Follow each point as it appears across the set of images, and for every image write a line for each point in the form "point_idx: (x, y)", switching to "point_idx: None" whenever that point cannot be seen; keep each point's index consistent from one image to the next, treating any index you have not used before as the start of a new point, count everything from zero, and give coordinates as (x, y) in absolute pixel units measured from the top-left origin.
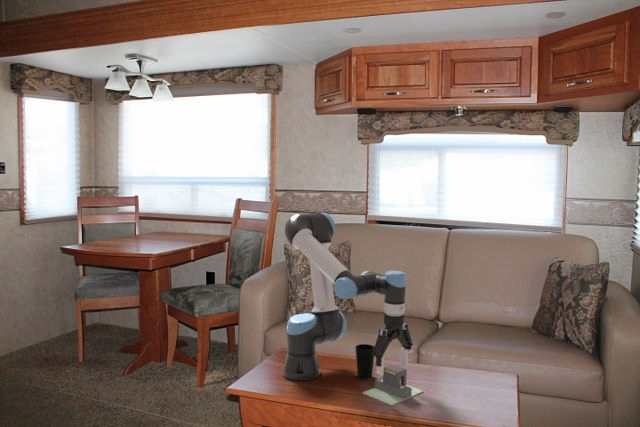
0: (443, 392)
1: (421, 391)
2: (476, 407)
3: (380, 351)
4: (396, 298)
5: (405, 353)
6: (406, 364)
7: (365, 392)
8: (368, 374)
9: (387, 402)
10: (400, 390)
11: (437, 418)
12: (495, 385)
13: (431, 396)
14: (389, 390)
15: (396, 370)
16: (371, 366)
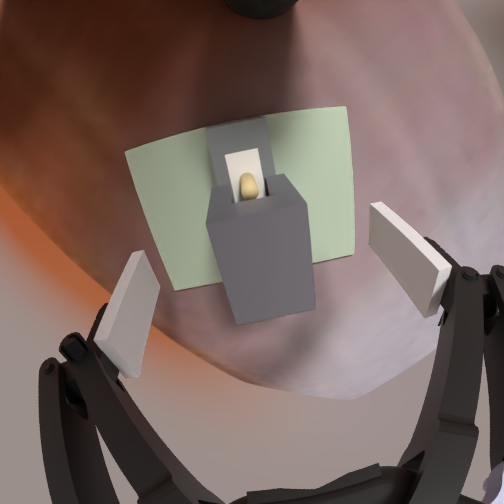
0: (392, 279)
1: (345, 254)
2: (363, 360)
3: (92, 425)
4: None
5: (411, 289)
6: (377, 251)
7: (135, 157)
8: (256, 12)
9: (169, 272)
10: None
11: (246, 373)
12: None
13: (343, 287)
14: None
15: (252, 302)
16: (283, 1)
